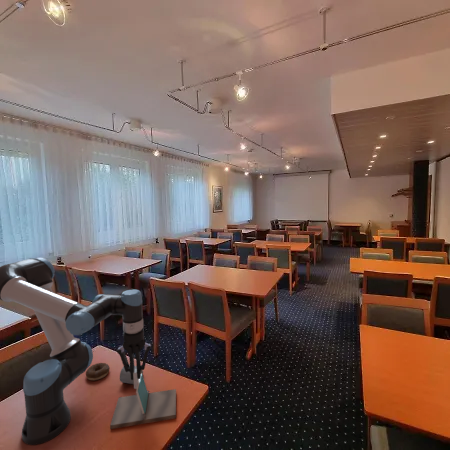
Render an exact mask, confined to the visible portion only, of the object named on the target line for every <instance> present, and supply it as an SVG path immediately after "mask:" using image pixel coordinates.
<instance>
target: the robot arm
mask: <svg viewBox="0 0 450 450" xmlns="http://www.w3.org/2000/svg"><path fill="white" fill-rule="evenodd" d="M55 273H56V272H55V267H54V265H53V263H52V262H51V261H49V260H48V259H47V258H43V257H35V258H33V257H32V258H28V259H24V260H20V261H16V262H12V263H8V264H3V265H1V266H0V301H3V302H6V303H12V302H14V303H17V304H19V305H22V306H23V307H26V308H28V309H31V310H33V311H34V314H35V316H36V318H37V320H38V322H39V325H40V327H41V329H42V331H43V333H44V335H45V337H46V341H47V342H48V345H49V346H50V349H51V352H50V354H49V357H50V359H46V360H43V362H41V361H40V362H38V363H37V364H35V365H33V366H32V367H31V368H30V369H28V371H27V372H26V373H25V375H24V376H23V386H22V392H23V394H24V405H25V414H26V415H25V419H24V422H23V426H22V428H21V438H22V442H23V443H24V444H26V445H31V446H35V445H40V444H43V443H46V442H49V441H51V440H53V439H54V438H56V437H57V436H59V434H61V433H62V432H63V431H64V430H65V429H66V428H67V427H68V426H69V423H70V422H71V410H70V408H69V406H68V405H67V403H66V401H65V398H64V390H65V389H66V388H67V387H68V386H69V385H70V384H71V383H73V382H74V381H75V380H76V379H77V378H78V377H80V376H81V375H82V374H83V373H86V371H87V369H88V368H89V367H91V366H92V362H93V359H94V353H93V352H94V351H93V349H92V347H91V346H90V344H87V342H86V341H85V342H84V341H81V339H80V338H77V337H75V336H81V335H83V334H85V333H87V332H88V331H90V330H92V329H93V327H95V326H97V325H98V324H99V323H101V322H102V321H104V320H106V319H107V318H109V317H110V316H122V330H123V333H122V334H123V343H122V345H121V346H119V347H118V348H117V350H116V353H117V354H118V356H120V359H121V363H122V367H124V369H125V371H126V372H130V373H131V380H134V384H133V389H135V390H136V389H137V385H138V379H140V377H141V370H142V371H144V370H145V368H146V364H147V359H148V354H149V352H150V350H151V347H152V343H147V342H146V340H145V336H144V335H145V331H144V318H143V317H144V316H143V315H144V314H143V313H144V312H143V301H144V300H143V297H142V296H143V294H142V292H141V291H140V290H139V289H127V290H124V291H123V292H122V293H121V294H109V293H104V294H102V293H100V294H97V295H95V297H94V298H93V300H92V302H91V303H90V304H88V305H85V304H83V303H80V302H77V301H76V300H73V299H71V298H68V297H65V296H62V295H60V294H58V293H56V292H54V291H53V288H52V286H53V284H54V281H53V279H54V277H55ZM143 348H144V354H143V359H142V360H141V352H142V350H143ZM126 352H127V353H128V357H129V360H128V357H127V355H126ZM134 354H135V355H134ZM135 360H136V361H135ZM141 361H142V362H141ZM135 362H136V365H135ZM141 363H142V364H141ZM129 364H130V366H129ZM135 366H137V369H134V367H135Z"/></svg>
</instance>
